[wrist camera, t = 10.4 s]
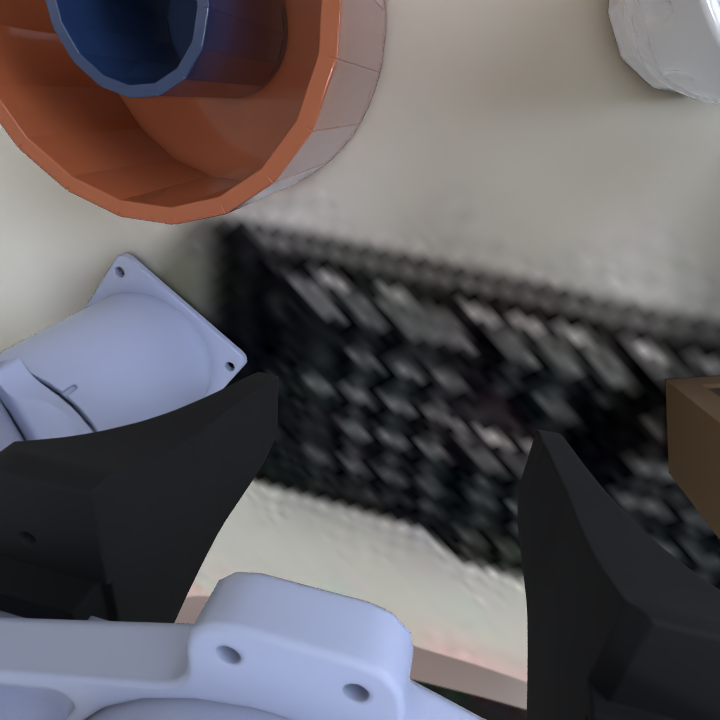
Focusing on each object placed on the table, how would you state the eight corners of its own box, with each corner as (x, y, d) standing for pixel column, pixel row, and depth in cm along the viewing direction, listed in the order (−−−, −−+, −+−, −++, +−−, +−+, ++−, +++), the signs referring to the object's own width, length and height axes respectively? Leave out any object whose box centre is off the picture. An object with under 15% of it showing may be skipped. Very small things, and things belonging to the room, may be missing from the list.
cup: (240, 126, 21) (152, 135, 16) (145, 35, 21) (15, 9, 15) (313, 18, 19) (241, -19, 13) (209, -89, 18) (86, -176, 13)
